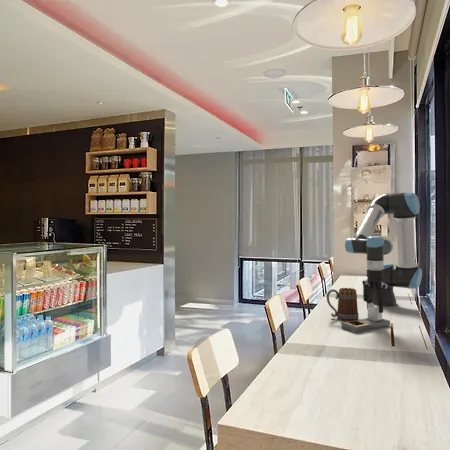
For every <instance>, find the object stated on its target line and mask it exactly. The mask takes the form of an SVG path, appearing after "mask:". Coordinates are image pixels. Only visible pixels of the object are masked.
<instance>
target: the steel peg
mask: <svg viewBox="0 0 450 450" xmlns="http://www.w3.org/2000/svg"><path fill="white" fill-rule="evenodd" d="M367 318H368V320H369V321H372V322H380V321H382V319H383V318H382V319H380V320H377V305H374V304H373V305H372V306H368V309H367Z"/></svg>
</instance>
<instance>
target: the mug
mask: <svg viewBox="0 0 450 450" xmlns="http://www.w3.org/2000/svg"><path fill="white" fill-rule="evenodd" d="M331 293H335V294H336V295H335V297H334V298H335V300H337V310H336V308H335V307H334V306H333V305H332V304H331V302H330V294H331ZM326 302H327V304H328V306H329V307H330V308H331V309H332V311H334V313H333V312H331V313H330V315H331V317H333V318H337V319H338V320H341V321H343V322H349V321H354V320H359V316H360V315H359V311H358V310H359V309H358V294H357V289H356V288H352V287H345V288H344V287H341V288H339V289H338V290H336V289H334V288H332V289H329V290H328V291H327V293H326Z"/></svg>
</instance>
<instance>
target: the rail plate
mask: <svg viewBox="0 0 450 450" xmlns="http://www.w3.org/2000/svg"><path fill="white" fill-rule="evenodd" d="M387 327H391V320H388V319H385V318H382V321H380V322H372V321H369V320H368V317H366V318H365V317H364V318H360V319H359V318H358V320H354V321H343V322H341V329H343V330H345V331H349V332H353V333H355V334H359V333H364V332H369V331H373V330H378V329H383V328H387Z"/></svg>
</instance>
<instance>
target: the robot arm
mask: <svg viewBox="0 0 450 450" xmlns="http://www.w3.org/2000/svg"><path fill="white" fill-rule="evenodd" d="M420 208H421V205H420V200H419V197H418V195H417V194H416V193H414V192H395V193H383V194H381V195H379V196H378V197H376V198H375V199H373V200H372V201H371V202H370V203H369V205H368V207H367V208H366V209H367V210H366V213H365V216H364V218H363V220H362V221H361V223H360V225H359V227H358V229H357V230H356V232H355V234H354V236H353V237H350V238H346V239H345V242H344V249H345V252H347V253H351V254H363V255H366V268H367V269H366V280H365V279H364V280H362V281H361V283H362V286H363V287H362V289H363V290H362V293H363V295H362V299H363V301H364V302H365V303H366V309H367V310H368V306H372V305H376V306H377V320H380V319H383V312H384V307H388V306H389V307H390V306H392V307H393V306H396V305H397V298H396V295H395V292H394V288H402V289H409V290H410V289H411V290H412V289H413V290H414V289H415V290H416V289H418V288H419V287H420V285H421V282H422V278H423V269H422V268H420V267H419V264H418V262H416V260H415V259H416V255H415V254H416V253H415V230H414V229H415V228H414V220H415V219H416V218H417V215H418V214H419V213H420ZM385 215H393V219H394V220H395V221H396V236H397V237H396V238H397V242H396V243H397V259H398V260H397V261H398V262H397V263H396V264H395V266H394V263H385V262H384V256H386V255H389V254H390V253H391V252H392V251H393V249H394V247H393V246H394V245H393V243H392V241H390V240H389V239H385V238H384V237H382V236H377V235H376V236H372V235H373V233H374V231H375V229H376V227H377V226H378V224H379V222H380V220H381V219H382V218H383V217H384V216H385Z"/></svg>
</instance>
